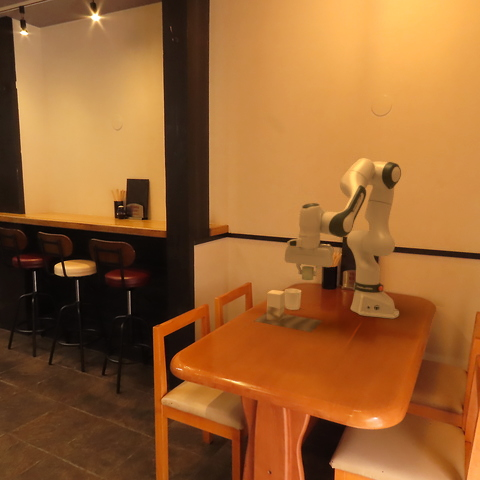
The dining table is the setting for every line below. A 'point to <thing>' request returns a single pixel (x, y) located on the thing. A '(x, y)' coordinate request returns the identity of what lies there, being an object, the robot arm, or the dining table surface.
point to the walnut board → (292, 322)
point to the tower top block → (276, 298)
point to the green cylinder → (307, 272)
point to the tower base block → (275, 313)
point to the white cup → (292, 299)
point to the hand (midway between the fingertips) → (307, 275)
